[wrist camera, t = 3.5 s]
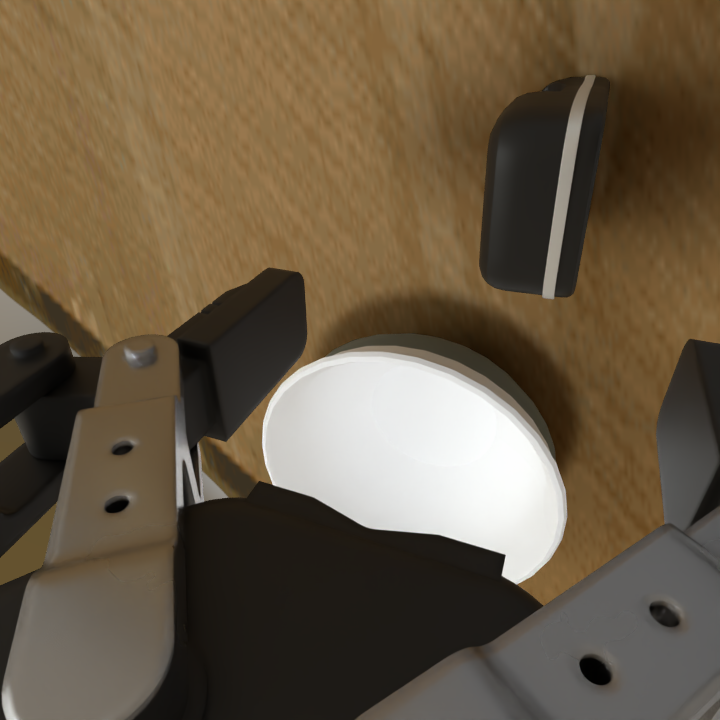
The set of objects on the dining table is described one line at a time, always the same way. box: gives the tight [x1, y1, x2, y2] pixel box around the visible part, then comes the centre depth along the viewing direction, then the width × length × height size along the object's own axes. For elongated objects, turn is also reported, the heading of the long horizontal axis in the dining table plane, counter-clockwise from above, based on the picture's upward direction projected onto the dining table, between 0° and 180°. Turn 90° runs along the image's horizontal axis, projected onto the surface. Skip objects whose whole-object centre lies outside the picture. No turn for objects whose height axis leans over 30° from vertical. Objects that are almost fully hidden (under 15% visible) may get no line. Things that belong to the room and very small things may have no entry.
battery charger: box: [479, 75, 610, 299], centre depth 23 cm, size 7×4×11 cm, turn 3°
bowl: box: [262, 333, 567, 585], centre depth 36 cm, size 19×19×8 cm
